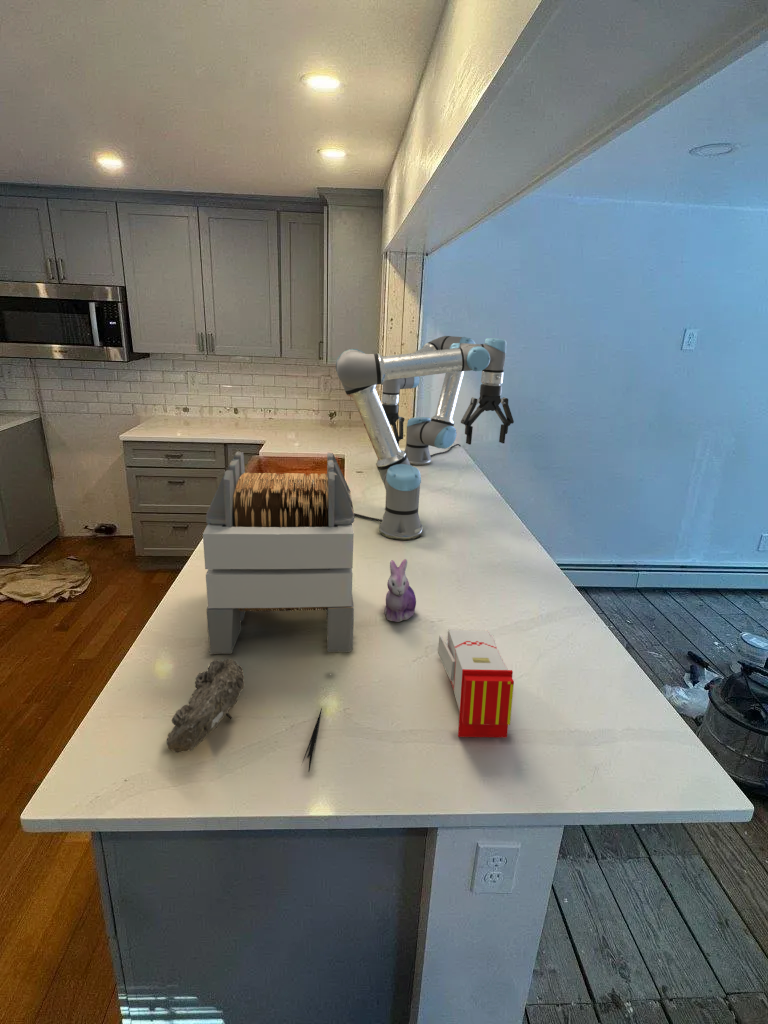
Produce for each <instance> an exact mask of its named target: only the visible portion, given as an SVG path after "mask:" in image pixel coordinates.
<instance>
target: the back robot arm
mask: <svg viewBox="0 0 768 1024" xmlns="http://www.w3.org/2000/svg"><path fill="white" fill-rule="evenodd" d="M453 343H468V344H477V343H476V342H475V340H474V339H472V338H470V337H467V336H455V335H443V336H440V337H438V338H434V339H432V340H431V341H429V342H426V343H425V344H424V345H423V346H422V347H421V348H420V349H418V350H416V351H414V352H413V353H417V352H426V351H435V350H444V349H450V346H451V345H452V344H453ZM464 375H465V371H460V372H451V373H444V378H443V383H442V387H441V391H440V395H439V398H438V403H437V407H436V411H435V414H434V416H432V417H428V416H426V417H425V416H417V417H411V418H409V419H408V420H407V424H406V439H405V448H404V450H403V451H404V452H405V453H406V455H407V458H408V460H409V463H410V465H411V466H428V465H430V464H431V463H432V457H434V456H438V455H443V454H446V453H449V452H450V451H451V450H452V449H453V448H455V447H456V446H459V447H462V446H461V444H460V443H456V444H454V443H455V440H456V439H457V433H458V432H457V429H456V427H454V426H455V422H454V420H453V418H454V413H455V410H456V406H457V402H458V399H459V394H460V390H461V386H462V382H463V378H464ZM420 379H421V378H420V376H417V377H409V378H400V379H392V380H385V381H384V382H383V383H382V384H380V385H381V386H382V387H381V388H382V391H381V404H382V406H383V409H384V411H385V414H386V416H387V419H388V421H389V424H390V426H391V428H392V431H393V434H394V436H395V439H396V441H397V444H398V447H399V448H400V441H401V440H404V422H405V417H404V416H400V415H399V409H400V408H399V403H400V390H408V389H409V390H410V389H415V388H417V387H419V385H420ZM397 422H398V428H397ZM429 447H434V448H436V449H444V450H445V449H448V450H445V451H440V452H435V453H433V454H431V453H430V449H429Z"/></svg>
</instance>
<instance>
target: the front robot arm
mask: <svg viewBox="0 0 768 1024" xmlns="http://www.w3.org/2000/svg"><path fill="white" fill-rule="evenodd" d="M484 339H485V340H484V343H476V344H468V343H453V344H452V345H451V346H450V349H444V350H435V351H426V352H417V353H414V352H409V353H401V354H391V355H381V354H380V353H365V352H364V351H363V350H361V349H358V348H350V349H348V350H347V349H346V350H344V351H343V352H342V353H340V355H338V357H337V359H336V362H335V370H336V371H335V372H336V374H337V378H338V380H339V381H340V382H341V385H342V387H343V390H344V392H345V394H346V396H348V397H350V398H352V400H353V403H354V405H355V407H356V409H357V412H358V414H359V417H360V419H361V421H362V424H363V427H364V429H365V432H366V433H367V436H368V438H369V442H370V443H371V445H372V448H373V451H374V453H375V456H376V458H377V460H376V462H375V466H376V469H377V471H378V474H379V476H380V479H381V481H382V483H383V485H384V488H385V504H384V505H385V507H384V508H385V509H384V513H383V515H382V519H381V518H376V517H371V516H368V515H364V514H359V513H355V512H354V517H357V518H360V519H365V520H369V521H373V522H374V521H375V522H379V525H378V533H379V534H380V535H381V536H382V537H385V538H387V539H389V540H395V541H410V540H415V539H418V538H420V537H421V536H422V535H423V525H422V524H421V518H420V515H419V507H420V506H419V505H420V504H419V503H420V491H421V483H422V477H421V476H422V475H421V471H420V470H419V468H417V467H416V466H414V465H410V463H409V460H408V458H407V455H406V453H405V452H404V451H405V450H401V449H400V446H399V447H398V444H397V441H396V439H395V435H394V431H393V428H392V425H390V424H389V421H388V419H387V416H386V414H385V411H384V409H383V406H382V404H383V403H382V400H381V399H380V397H379V394H378V392H377V389H376V387H377V385H381V384H382V383H383V382H384V381H385V380H392V379H400V378H409V377H417V376H419V377H425V376H433V375H442V374H446V373H451V372H460V371H464V372H470V371H472V372H481V377H480V382H481V384H480V386H479V387H480V388H479V398H476V397H471V398H470V403H469V405H468V407H467V409H466V411H465V412H464V415H463V416H462V418H461V420H460V424H462V425H464V435H466V437H465V444H467V445H472V438H473V431H474V429H473V428H474V426H472V425H473V424H474V423H475V421H476V420H477V419H478V418H479V416H480V415H481V414H482V413H484V412H490V411H491V412H495V413H496V414H497V416H498V418H499V419H500V421H501V423H502V424H500V429H499V438H498V439H499V440H498V442H499V443H501V444H505V442H506V435H507V434H509V433H508V432H509V427H510V426H511V425H513V424H514V422H515V421H514V418H513V414H512V411H511V409H510V405H509V398H508V397H502V398H501V396H502V392H503V391H502V390H503V385H502V384H503V380H504V371H505V364H506V356H507V341H506V339H504V338H493V337H492V338H491V337H488V338H484ZM500 404H501V405H502V408H503V411H504V412H503V411H502V409H501V407H500V406H499V405H500ZM477 405H478V406H477Z"/></svg>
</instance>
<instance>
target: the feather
mask: <svg viewBox="0 0 768 1024" xmlns="http://www.w3.org/2000/svg"><path fill="white" fill-rule="evenodd" d="M329 675H330V676H331V675H332V674H331V673H330V674H329ZM322 710H323V707H321V708H320V710H319V713H318V716H317V719H316V723H315V725H314V728H313V731H312V733H311V737H310V739H309V742H308V745H307V748H306V751H305V754H304V757H303V760H302V763H301V767H302V765H303V763H304V761H305V758H308V759H309V760H308V762H307V763H308V764H307V766H308V771H310V770H311V766H312V765H311V764H312V760H313V757H315V756H314V755H315V751H316V749H315V746H317V739H318V733H319V729H320V722H321V717H322V712H323V711H322ZM313 754H314V755H313ZM306 755H307V757H306Z"/></svg>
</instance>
